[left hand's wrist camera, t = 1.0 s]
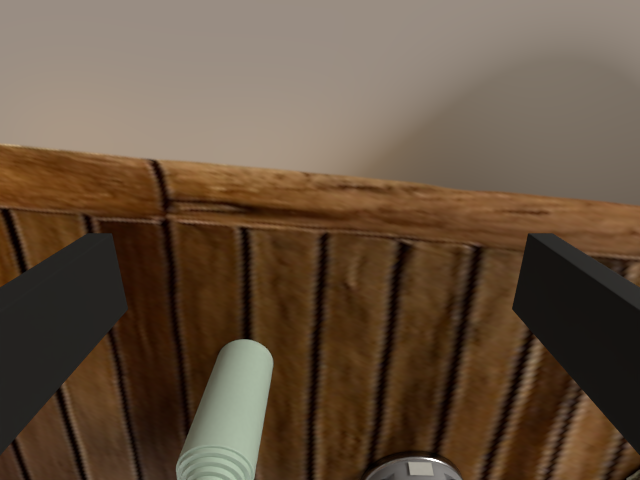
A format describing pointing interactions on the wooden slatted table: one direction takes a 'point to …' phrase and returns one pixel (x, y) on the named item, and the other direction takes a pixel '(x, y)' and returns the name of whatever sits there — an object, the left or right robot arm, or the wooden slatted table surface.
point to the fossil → (635, 476)
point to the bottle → (229, 416)
